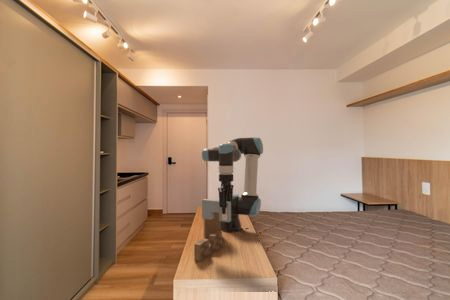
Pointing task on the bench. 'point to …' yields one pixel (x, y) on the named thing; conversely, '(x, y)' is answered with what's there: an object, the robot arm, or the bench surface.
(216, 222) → the wooden block
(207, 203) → the notched plate
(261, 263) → the bench surface
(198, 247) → the slotted beam
